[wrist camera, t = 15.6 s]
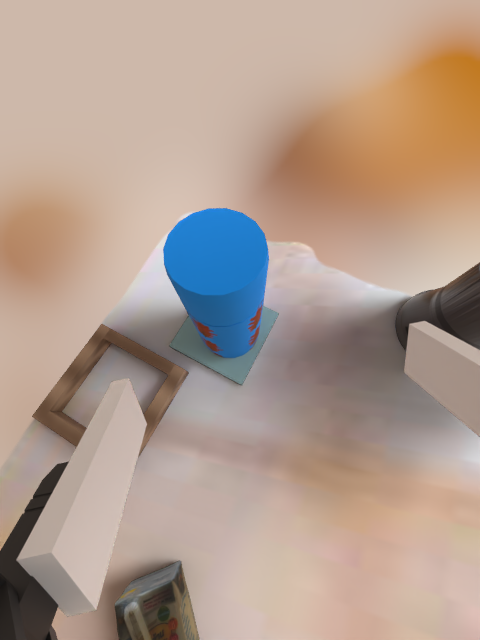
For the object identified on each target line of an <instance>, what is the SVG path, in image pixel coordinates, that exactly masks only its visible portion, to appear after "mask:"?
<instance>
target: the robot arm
mask: <svg viewBox="0 0 480 640" xmlns="http://www.w3.org/2000/svg"><path fill="white" fill-rule="evenodd" d="M396 331H397V335H398V338H399V340H400V342H401V344H402V346H403V347H404V349H405V350H406V358H405V367H404V373H405V374H406V375H407V376H409V377H410V378H411V379H412V380H413V381H415V382H416V383H417V384H418V385H419V386H420V387H422V388H423V389H424V390H425V391H426V392H427V393H429V394H430V395H431V396H432V397H433V398H434V399H436V400H437V401H438V402H439V403H440V404H442V405H443V406H444V407H445V408H446V409H447V410H449V411H450V412H451V413H452V414H453V415H454V416H456V417H457V418H458V419H459V420H460V421H461V422H463V423H464V424H465V425H466V426H467V427H469V428H470V429H471V430H472V431H473V432H474V433H476V434H477V435H478V436H479V437H480V263H478V264H477V265H475V266H474V267H472V268H471V269H469V270H468V271H467V272H465V273H464V274H462V275H461V276H459V277H458V278H456V279H455V280H453V281H452V282H450V283H449V284H448V285H446V286H445V287H442V288H438V289H435V290H428V291H424V292H421V293H419V294H417V295H415V296H413V297H412V298H411V299H409V300H408V301H407V302H406V303H404V305H403V306H402V307H401V308H400V310H399V312H398V314H397V318H396ZM146 426H147V423H146V420H145V418H144V415H143V413H142V410H141V407H140V405H139V402H138V400H137V397H136V395H135V392H134V389H133V387H132V384H131V382H130V379H129V378H127V379H122V380H117V381H112V382H111V384H110V386H109V388H108V390H107V392H106V393H105V395H104V397H103V399H102V401H101V403H100V405H99V407H98V408H97V410H96V412H95V414H94V416H93V418H92V420H91V421H90V423H89V425H88V427H87V429H86V431H85V433H84V435H83V436H82V438H81V440H80V442H79V444H78V446H77V448H76V450H75V451H74V453H73V455H72V457H71V459H70V461H69V462H66V463H61V464H57V465H56V466H55V467H54V468H53V469H52V470H51V472H50V473H49V474H48V475H47V476H46V477H45V478H44V479H43V480H42V482H41V484H40V485H39V487H38V489H37V490H36V492H35V494H34V495H33V499H31V500H30V502H29V504H28V505H27V507H26V509H25V513H24V514H22V516H21V517H20V519H19V521H18V522H17V524H16V526H15V527H14V529H13V531H12V532H11V534H10V536H9V537H8V539H7V541H6V542H5V544H4V546H3V547H2V549H1V551H0V640H57V636H56V632H55V630H54V629H53V627H52V626H51V624H52V621H53V619H54V616H55V613H56V611H57V608H58V607H59V608H60V609H61V611H62V612H63V613H64V614H65V615H66V616H67V617H69V616H74V615H78V614H82V613H87V612H91V611H96V610H97V606H98V603H99V599H100V595H101V592H102V588H103V584H104V581H105V577H106V573H107V570H108V566H109V562H110V559H111V555H112V551H113V547H114V544H115V540H116V536H117V533H118V529H119V525H120V522H121V518H122V514H123V511H124V507H125V503H126V500H127V496H128V492H129V489H130V485H131V481H132V477H133V474H134V470H135V466H136V463H137V459H138V455H139V452H140V448H141V444H142V441H143V437H144V433H145V430H146Z"/></svg>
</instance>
